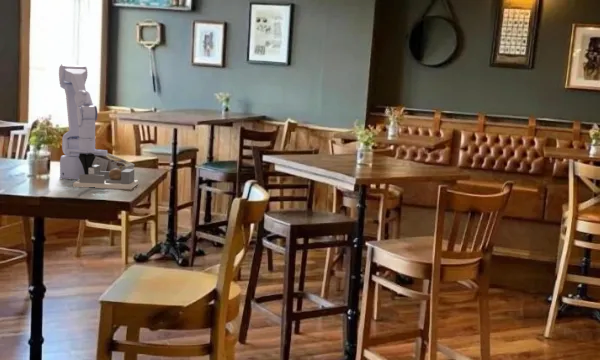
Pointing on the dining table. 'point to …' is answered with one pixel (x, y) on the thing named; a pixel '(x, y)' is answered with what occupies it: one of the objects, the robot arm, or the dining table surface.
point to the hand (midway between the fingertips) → (87, 174)
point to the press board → (107, 180)
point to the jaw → (94, 170)
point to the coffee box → (111, 162)
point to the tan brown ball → (115, 174)
